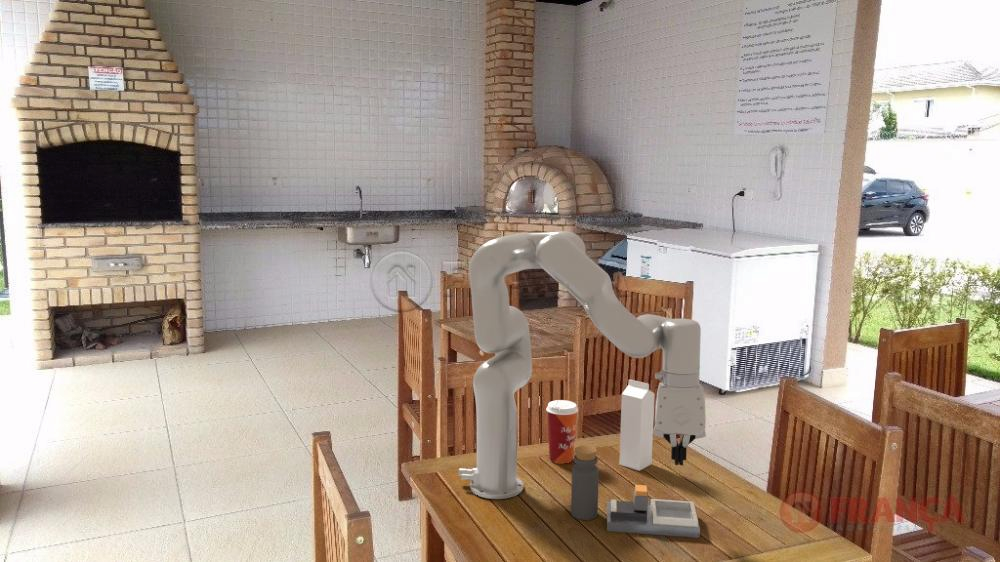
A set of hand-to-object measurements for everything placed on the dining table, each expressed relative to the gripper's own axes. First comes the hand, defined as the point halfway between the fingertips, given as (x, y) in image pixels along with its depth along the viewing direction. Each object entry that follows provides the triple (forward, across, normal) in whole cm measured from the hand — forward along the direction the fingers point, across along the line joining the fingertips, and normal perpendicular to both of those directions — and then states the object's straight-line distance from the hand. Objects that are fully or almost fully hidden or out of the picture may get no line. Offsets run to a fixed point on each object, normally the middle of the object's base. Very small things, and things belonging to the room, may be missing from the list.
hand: (678, 462), depth 162 cm
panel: (+14, -5, 0) cm, 15 cm away
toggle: (+10, -8, 0) cm, 13 cm away
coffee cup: (+14, -27, +32) cm, 44 cm away
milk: (+14, -8, +32) cm, 36 cm away
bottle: (+14, -20, +2) cm, 24 cm away
